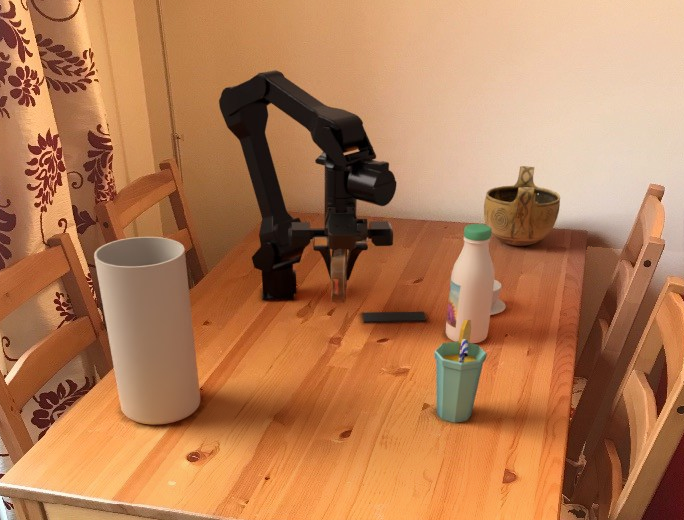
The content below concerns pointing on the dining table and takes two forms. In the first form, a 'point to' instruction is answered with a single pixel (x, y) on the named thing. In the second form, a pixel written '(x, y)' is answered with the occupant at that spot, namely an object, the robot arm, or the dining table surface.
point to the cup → (458, 376)
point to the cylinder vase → (149, 327)
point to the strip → (393, 317)
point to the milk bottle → (471, 285)
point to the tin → (339, 275)
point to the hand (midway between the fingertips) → (339, 279)
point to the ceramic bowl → (521, 210)
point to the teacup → (496, 303)
